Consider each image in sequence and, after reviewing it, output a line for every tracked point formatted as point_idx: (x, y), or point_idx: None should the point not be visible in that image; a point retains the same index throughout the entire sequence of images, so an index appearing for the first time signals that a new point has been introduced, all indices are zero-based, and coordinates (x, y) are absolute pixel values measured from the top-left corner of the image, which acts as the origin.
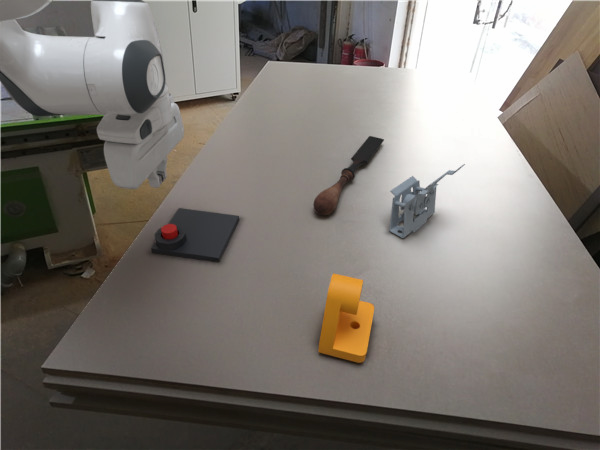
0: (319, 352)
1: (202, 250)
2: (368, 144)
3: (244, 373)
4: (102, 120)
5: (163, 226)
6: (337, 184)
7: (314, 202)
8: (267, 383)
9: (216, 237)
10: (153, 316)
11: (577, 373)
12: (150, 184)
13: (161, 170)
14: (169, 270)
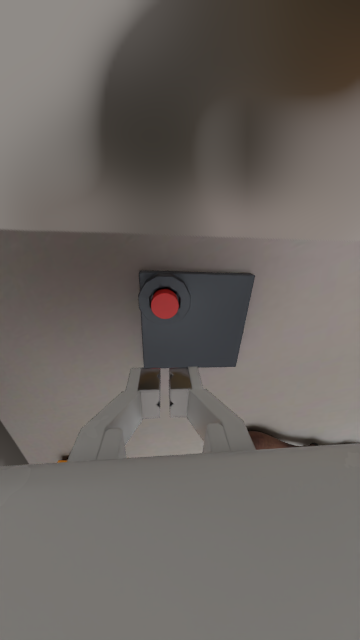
0: (58, 460)
1: (153, 346)
2: None
3: (14, 420)
4: None
5: (168, 294)
6: None
7: (254, 443)
8: (15, 435)
9: (183, 354)
10: (27, 324)
11: None
12: (131, 374)
13: (189, 413)
14: (111, 311)
